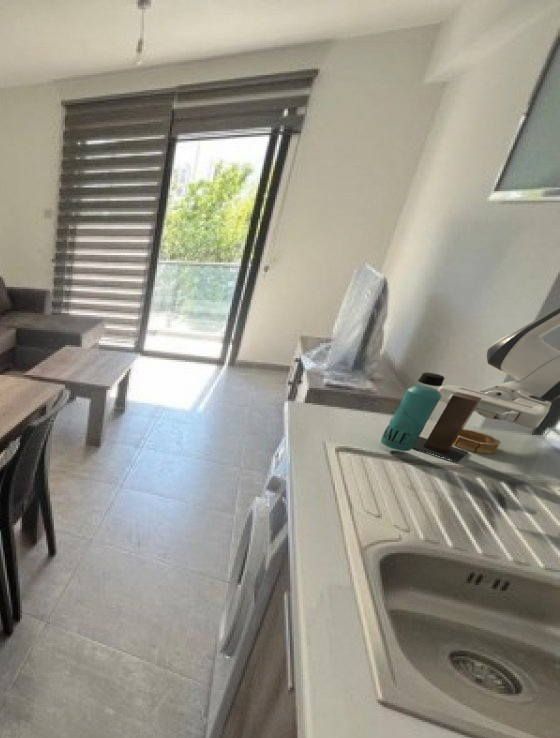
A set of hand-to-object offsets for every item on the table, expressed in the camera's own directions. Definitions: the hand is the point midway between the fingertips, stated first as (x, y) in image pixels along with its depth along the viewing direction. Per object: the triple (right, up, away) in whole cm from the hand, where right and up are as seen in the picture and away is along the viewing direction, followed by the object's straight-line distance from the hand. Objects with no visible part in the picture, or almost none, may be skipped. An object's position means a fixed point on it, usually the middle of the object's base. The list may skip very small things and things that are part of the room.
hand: (473, 408), depth 119 cm
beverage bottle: (-20, -11, 0) cm, 23 cm away
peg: (-7, -10, +2) cm, 12 cm away
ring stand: (+5, -9, +5) cm, 11 cm away
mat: (-7, -10, +2) cm, 13 cm away
